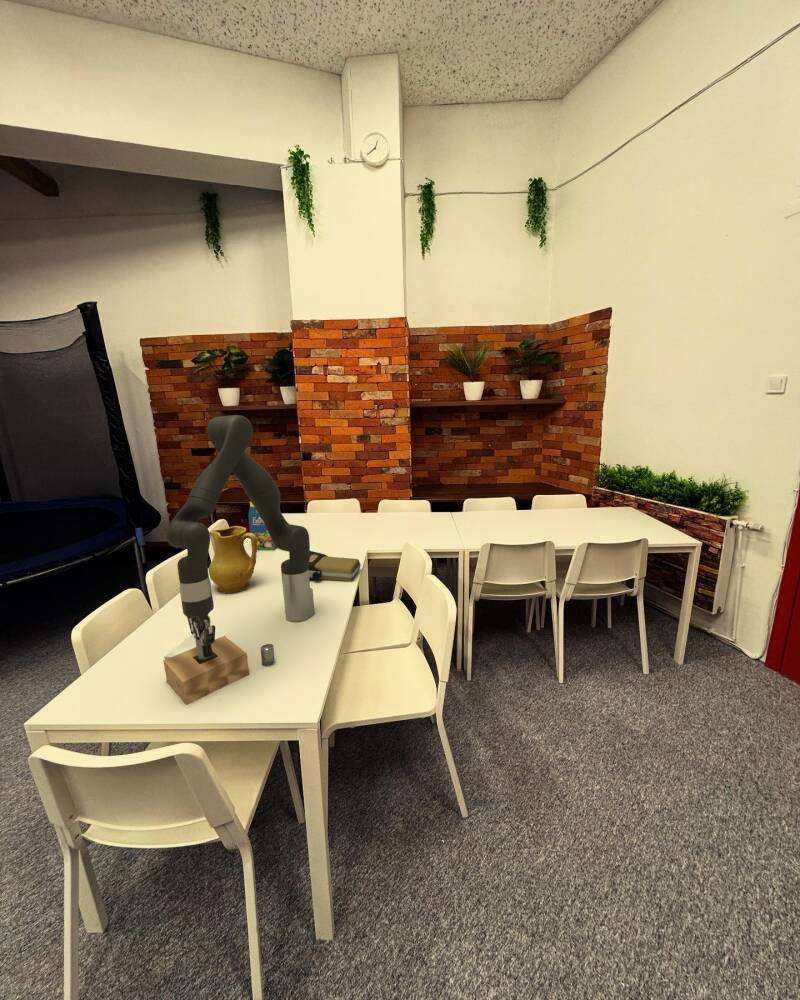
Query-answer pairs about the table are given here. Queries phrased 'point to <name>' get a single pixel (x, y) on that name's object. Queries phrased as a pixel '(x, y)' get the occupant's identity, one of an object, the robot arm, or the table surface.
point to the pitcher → (232, 559)
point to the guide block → (206, 670)
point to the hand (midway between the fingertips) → (204, 652)
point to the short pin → (267, 655)
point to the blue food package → (259, 530)
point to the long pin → (201, 652)
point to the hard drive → (183, 647)
